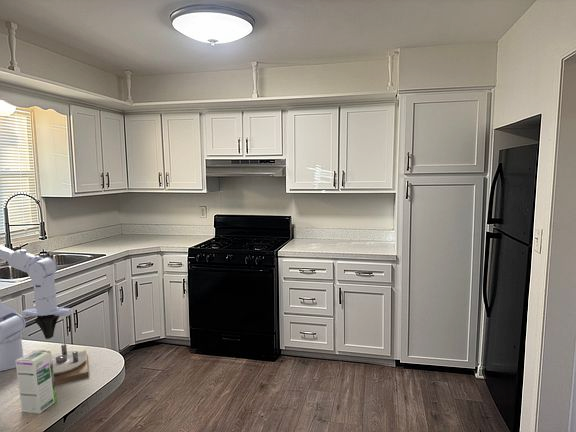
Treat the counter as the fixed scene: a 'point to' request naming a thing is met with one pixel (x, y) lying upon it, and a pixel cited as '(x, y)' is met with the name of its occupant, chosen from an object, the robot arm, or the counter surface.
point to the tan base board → (73, 373)
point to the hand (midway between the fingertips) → (49, 337)
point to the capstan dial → (67, 361)
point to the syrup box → (36, 381)
